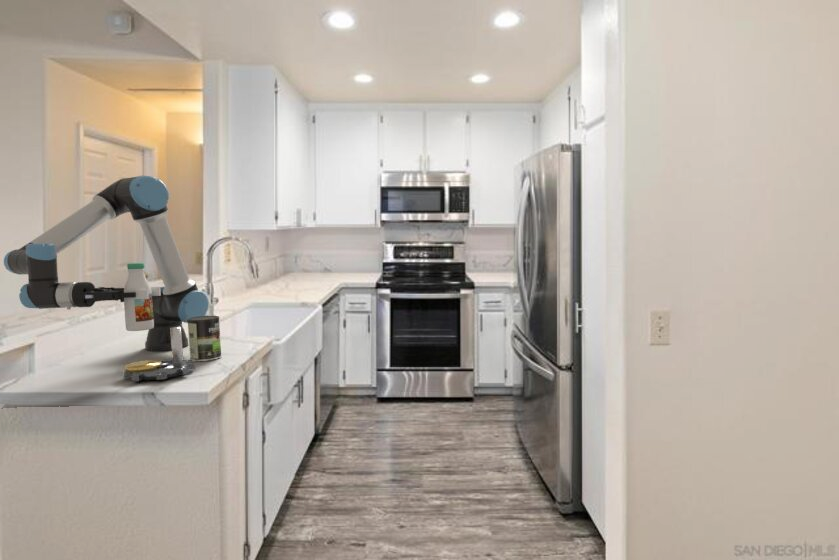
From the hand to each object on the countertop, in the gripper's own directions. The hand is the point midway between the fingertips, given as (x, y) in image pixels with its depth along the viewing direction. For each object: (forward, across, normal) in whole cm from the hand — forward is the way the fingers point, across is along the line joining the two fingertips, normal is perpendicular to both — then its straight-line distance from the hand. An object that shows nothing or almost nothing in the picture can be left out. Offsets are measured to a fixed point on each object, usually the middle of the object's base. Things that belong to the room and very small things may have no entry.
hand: (154, 292), depth 178 cm
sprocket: (0, -1, -26) cm, 26 cm away
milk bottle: (-5, 0, -11) cm, 12 cm away
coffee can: (+6, -23, -26) cm, 35 cm away
